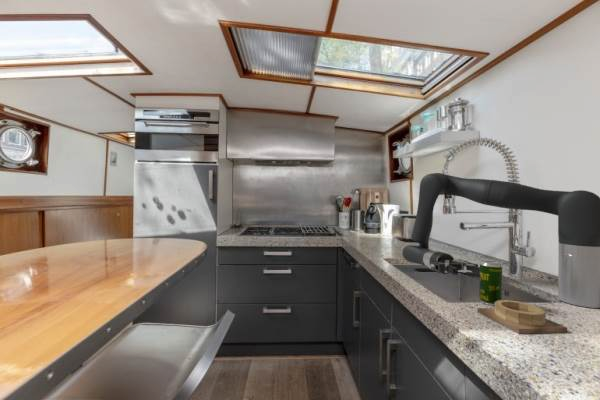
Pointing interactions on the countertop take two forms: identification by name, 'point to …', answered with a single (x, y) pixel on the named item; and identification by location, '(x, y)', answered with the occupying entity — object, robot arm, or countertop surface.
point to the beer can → (490, 282)
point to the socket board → (523, 327)
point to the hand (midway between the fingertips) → (469, 271)
